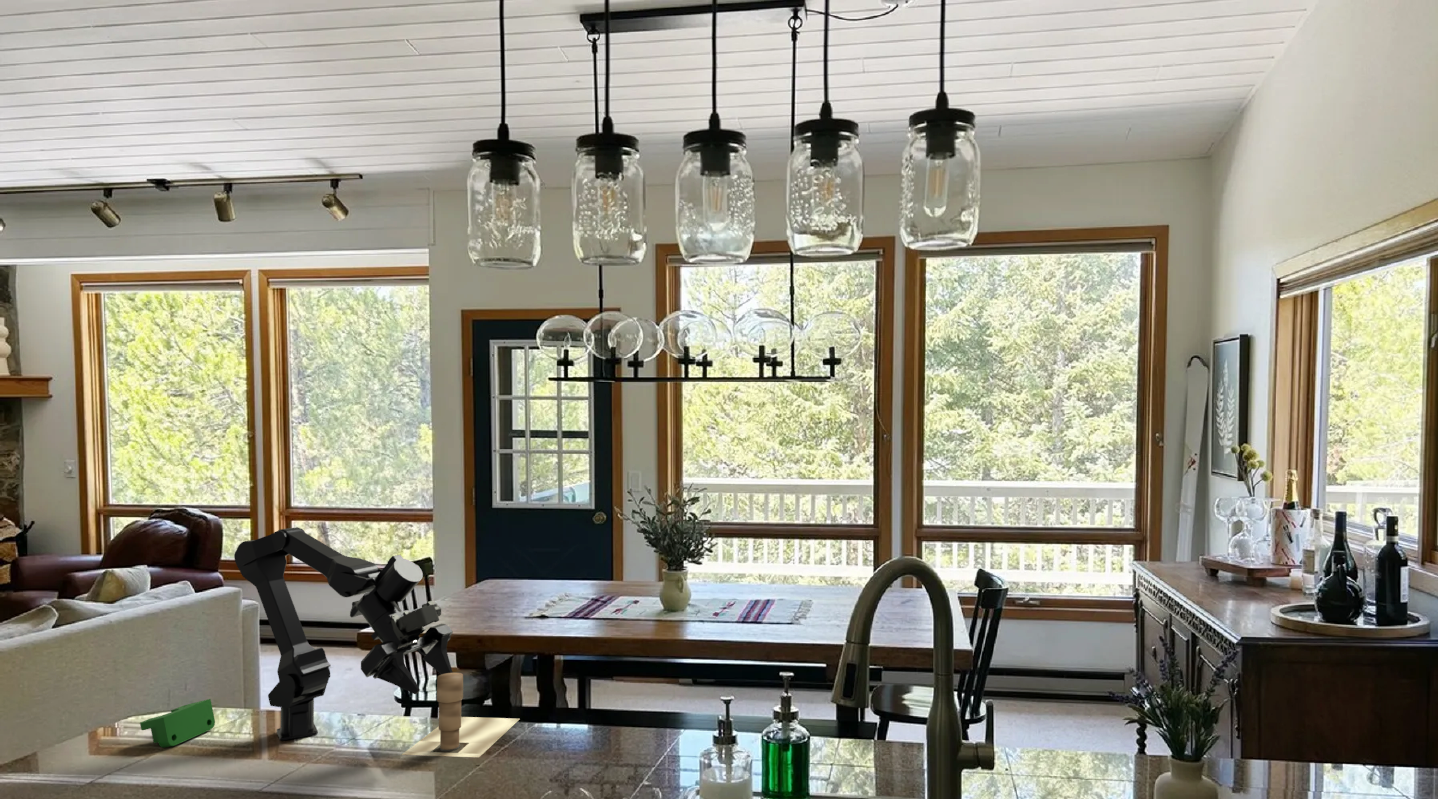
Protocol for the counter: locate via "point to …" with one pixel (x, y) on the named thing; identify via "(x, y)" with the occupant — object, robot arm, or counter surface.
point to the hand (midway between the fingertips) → (435, 685)
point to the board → (466, 737)
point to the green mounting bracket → (181, 723)
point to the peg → (449, 709)
